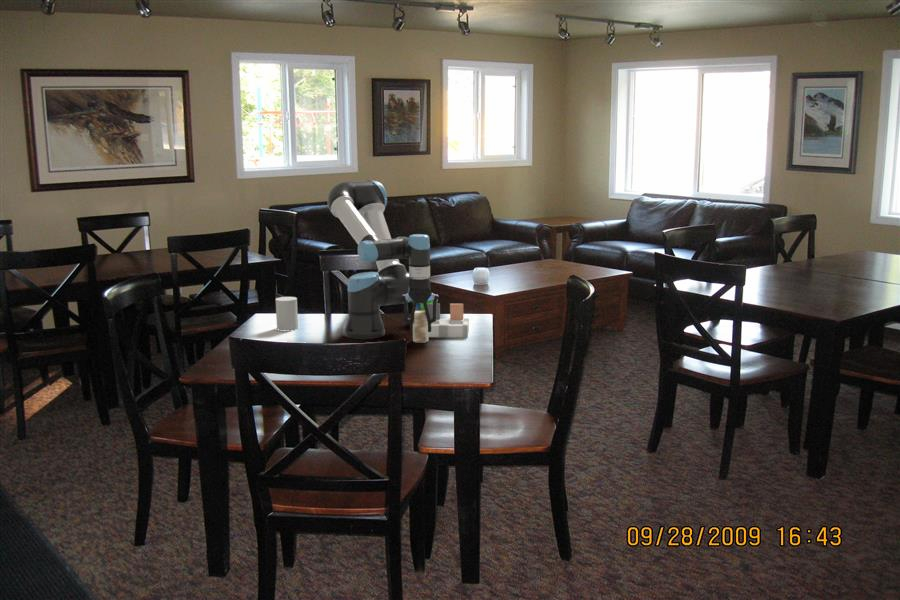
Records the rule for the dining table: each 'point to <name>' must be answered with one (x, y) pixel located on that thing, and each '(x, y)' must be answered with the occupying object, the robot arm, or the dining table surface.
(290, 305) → the white cylinder
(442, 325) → the socket block
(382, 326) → the robot arm
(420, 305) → the snack cup
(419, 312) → the cream tall block
